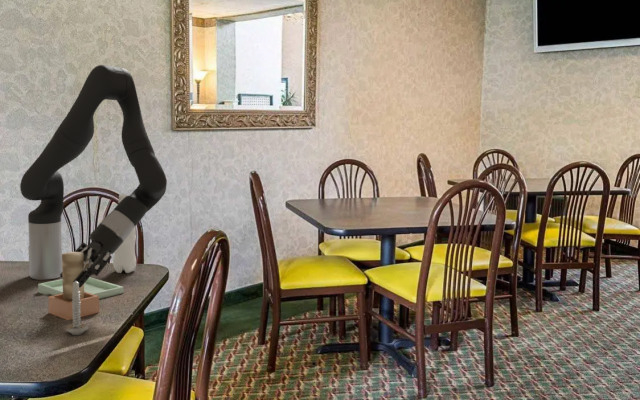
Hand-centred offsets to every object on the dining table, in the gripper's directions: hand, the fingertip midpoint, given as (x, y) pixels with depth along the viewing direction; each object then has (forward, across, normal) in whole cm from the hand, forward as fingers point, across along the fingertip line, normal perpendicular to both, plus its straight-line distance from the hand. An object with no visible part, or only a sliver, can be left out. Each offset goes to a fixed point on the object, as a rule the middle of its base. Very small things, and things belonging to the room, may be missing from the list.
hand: (69, 281), depth 158 cm
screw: (+10, +15, +3) cm, 18 cm away
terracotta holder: (+6, 0, +7) cm, 9 cm away
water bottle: (-16, -35, +29) cm, 48 cm away
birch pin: (+5, 0, +6) cm, 8 cm away
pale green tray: (-1, -18, +13) cm, 22 cm away
